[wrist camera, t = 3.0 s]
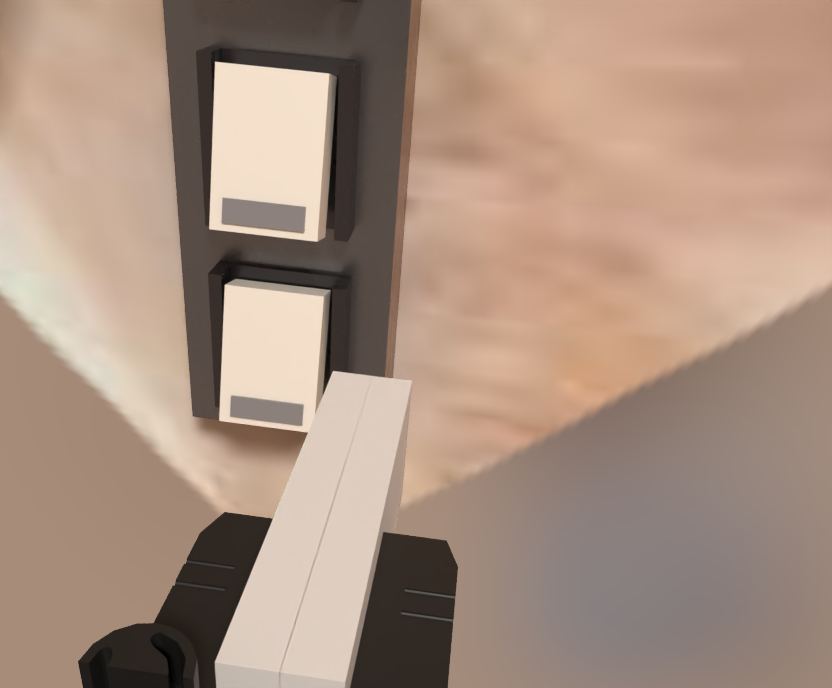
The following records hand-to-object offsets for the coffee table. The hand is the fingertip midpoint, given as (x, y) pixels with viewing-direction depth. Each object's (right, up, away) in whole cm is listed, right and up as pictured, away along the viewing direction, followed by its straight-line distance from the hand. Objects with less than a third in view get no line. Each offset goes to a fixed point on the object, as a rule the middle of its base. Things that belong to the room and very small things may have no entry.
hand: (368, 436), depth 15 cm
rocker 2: (-6, +1, +21) cm, 22 cm away
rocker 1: (-5, +10, +17) cm, 20 cm away
